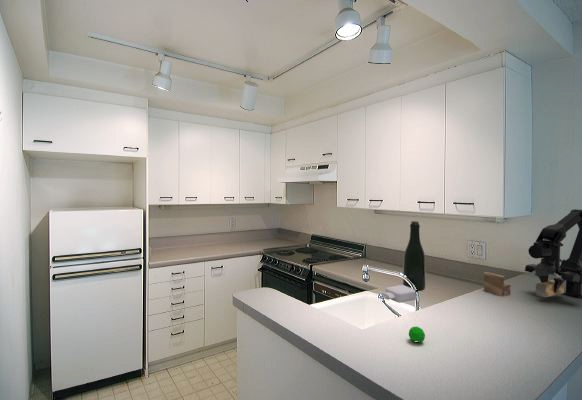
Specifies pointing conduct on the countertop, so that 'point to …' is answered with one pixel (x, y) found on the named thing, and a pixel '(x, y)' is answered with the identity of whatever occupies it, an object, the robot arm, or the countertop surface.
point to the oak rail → (548, 289)
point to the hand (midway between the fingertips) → (550, 291)
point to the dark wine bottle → (415, 259)
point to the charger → (399, 293)
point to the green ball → (416, 334)
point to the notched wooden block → (495, 284)
